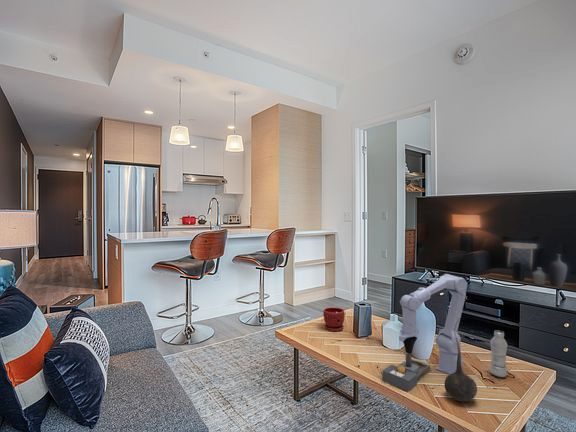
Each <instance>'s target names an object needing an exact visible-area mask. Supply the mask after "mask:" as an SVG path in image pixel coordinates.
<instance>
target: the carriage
mask: <svg viewBox="0 0 576 432" xmlns="http://www.w3.org/2000/svg"><path fill="white" fill-rule="evenodd" d="M412 356H413V355H412V353H411V354H409V353H406V354H405V361H403V362H401V363H400V364H398V365H397V367H398V366H399V365H402V366H404V367H405V370H408V371H410V372H413V373H416V374H418V373H419V366H416V365H413V364H411V363H412Z"/></svg>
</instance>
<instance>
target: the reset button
mask: <svg viewBox="0 0 576 432" xmlns="http://www.w3.org/2000/svg"><path fill="white" fill-rule="evenodd" d="M398 365H399V366H398ZM398 365H397V367H398V372H399V373H402V374H404V373H405V367H404V366H402V365H400V364H398Z"/></svg>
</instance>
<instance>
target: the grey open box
mask: <svg viewBox="0 0 576 432" xmlns="http://www.w3.org/2000/svg"><path fill="white" fill-rule="evenodd" d="M381 372H382V373H381V381H382V382H384V383H387V384H389V385H392V386H395V387H396V388H398V389H400V390H401V389H402V390H404V391H406V392H410V391H411V390H412V389H414V388H415V387H417V386H418V382H417V374H416V373H413V372H410V371H408V370H405V373H404V374H402V373H399V372H398V365H394V364H389V365H388V366H386V367H385V368H384V369H382V370H381Z"/></svg>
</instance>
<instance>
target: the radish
mask: <svg viewBox="0 0 576 432" xmlns="http://www.w3.org/2000/svg"><path fill="white" fill-rule="evenodd" d="M458 321H459V320H458ZM458 321H457V322H458ZM456 324H457V323H456ZM455 327H456V325H455ZM454 334H455V329H454ZM455 337H456V334H455ZM456 341H457V347H458V356H457V369H456V371H455V372H454V373H452V374H448V375H447V376H446V378H445V380H444V389H445V392H446V394H448V396H449V397H451V398H452V399H453V400H456V401H458V402H464V403H465V402H469V401H472V400H473V399H475V397H476V396H477V393H478V386H477V383H476V381H475V380H474V379H473V378H472V377H470V376H469V375H468V374H466V373H465V372H464V370H463V364H462V365H461V355H462V354H461V353H462V351H461V348H460V346H459V343H458V340H457V337H456Z"/></svg>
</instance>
